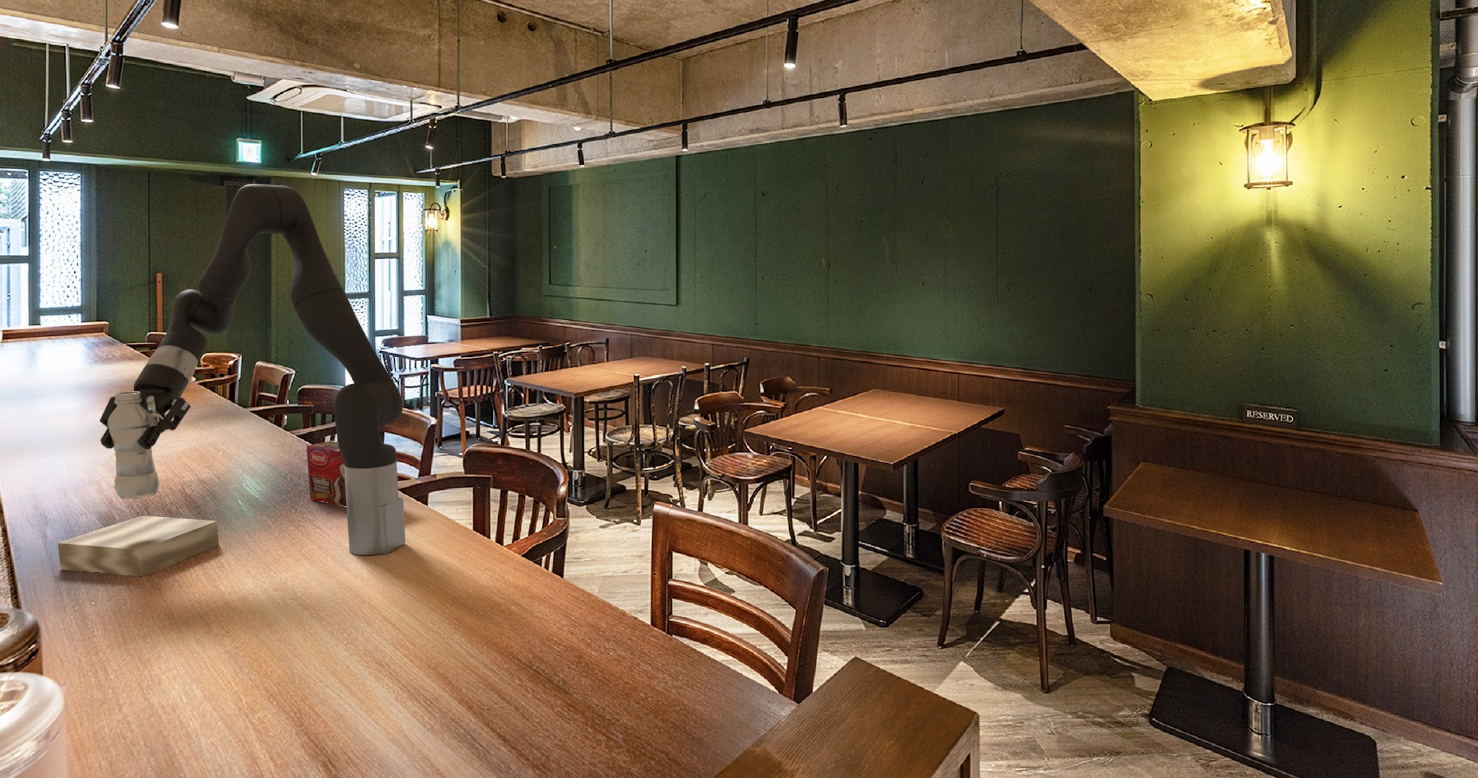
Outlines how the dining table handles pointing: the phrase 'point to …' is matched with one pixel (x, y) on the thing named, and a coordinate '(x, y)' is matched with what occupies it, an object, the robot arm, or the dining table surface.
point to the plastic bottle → (132, 448)
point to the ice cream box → (326, 473)
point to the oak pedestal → (138, 545)
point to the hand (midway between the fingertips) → (125, 446)
